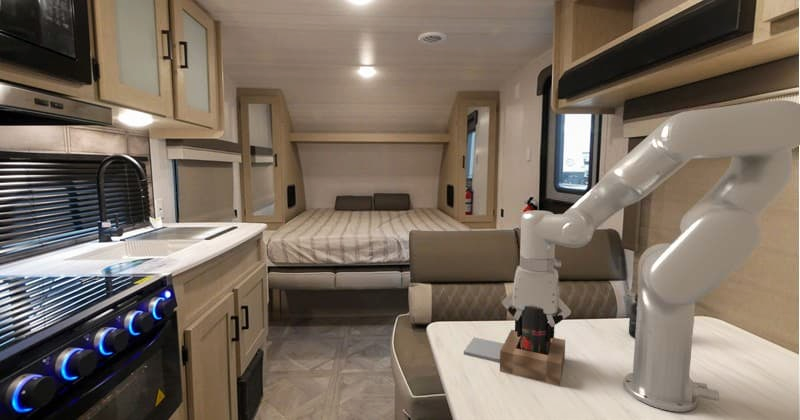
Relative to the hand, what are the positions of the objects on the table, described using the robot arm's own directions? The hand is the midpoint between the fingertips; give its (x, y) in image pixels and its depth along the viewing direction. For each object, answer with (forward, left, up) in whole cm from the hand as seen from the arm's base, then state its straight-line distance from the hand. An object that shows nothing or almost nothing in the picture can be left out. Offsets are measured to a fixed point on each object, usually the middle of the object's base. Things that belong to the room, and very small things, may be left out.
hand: (534, 336), depth 89 cm
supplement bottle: (-25, -30, -7) cm, 40 cm away
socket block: (0, 0, -7) cm, 7 cm away
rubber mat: (+12, -2, -7) cm, 14 cm away
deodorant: (0, 0, -7) cm, 7 cm away
